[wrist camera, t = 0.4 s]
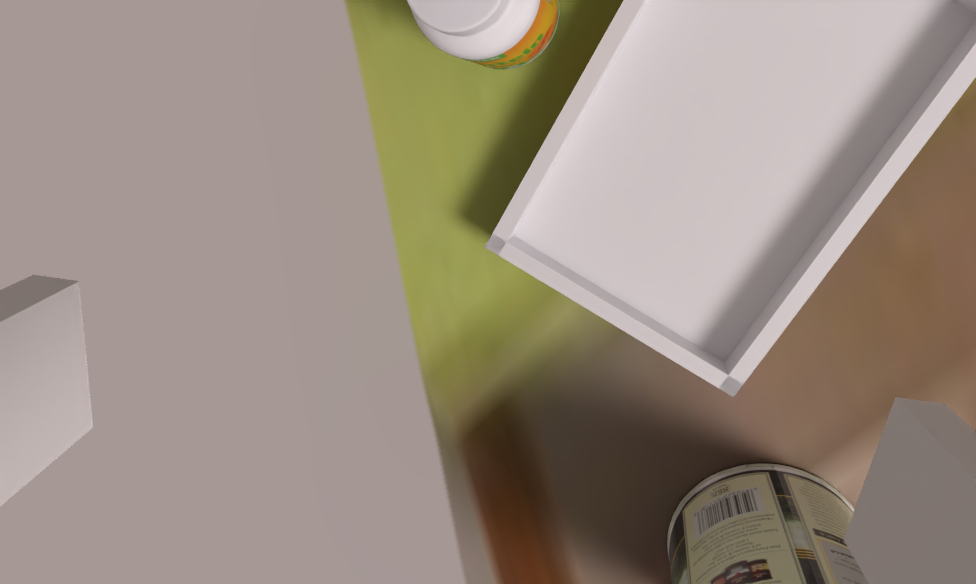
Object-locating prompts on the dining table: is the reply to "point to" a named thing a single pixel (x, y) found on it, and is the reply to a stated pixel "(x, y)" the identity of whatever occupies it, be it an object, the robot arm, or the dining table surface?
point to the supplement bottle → (488, 28)
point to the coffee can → (762, 530)
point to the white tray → (730, 162)
